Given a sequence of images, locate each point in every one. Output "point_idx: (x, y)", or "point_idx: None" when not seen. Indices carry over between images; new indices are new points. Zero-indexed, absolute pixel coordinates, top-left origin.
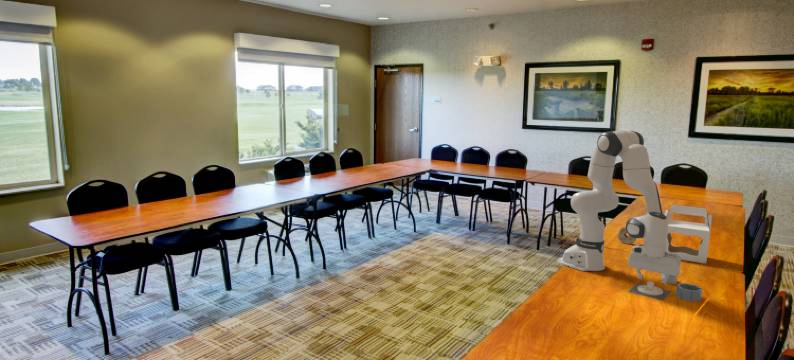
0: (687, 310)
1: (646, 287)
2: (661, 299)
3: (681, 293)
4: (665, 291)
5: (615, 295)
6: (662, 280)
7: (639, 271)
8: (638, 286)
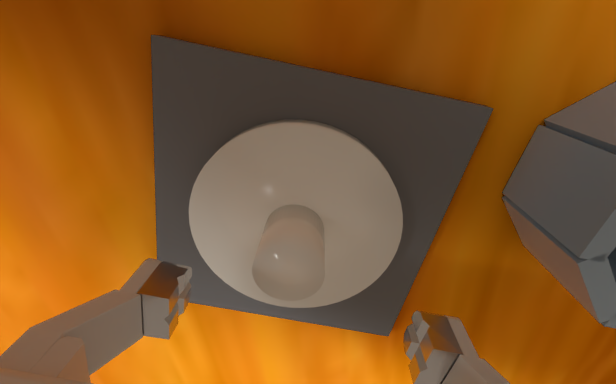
0: (516, 375)
1: (259, 200)
2: (382, 326)
3: (562, 282)
4: (428, 147)
5: (124, 354)
6: (417, 376)
7: (90, 347)
8: (193, 210)
